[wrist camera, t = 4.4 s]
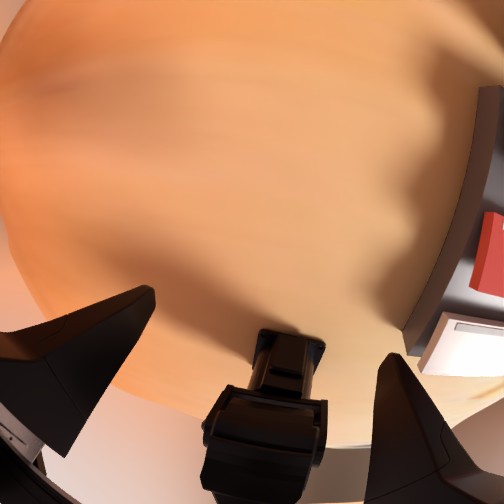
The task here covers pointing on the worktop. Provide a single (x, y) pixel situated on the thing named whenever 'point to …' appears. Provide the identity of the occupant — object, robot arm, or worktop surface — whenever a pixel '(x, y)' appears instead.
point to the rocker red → (490, 257)
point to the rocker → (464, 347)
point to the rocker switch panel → (466, 232)
